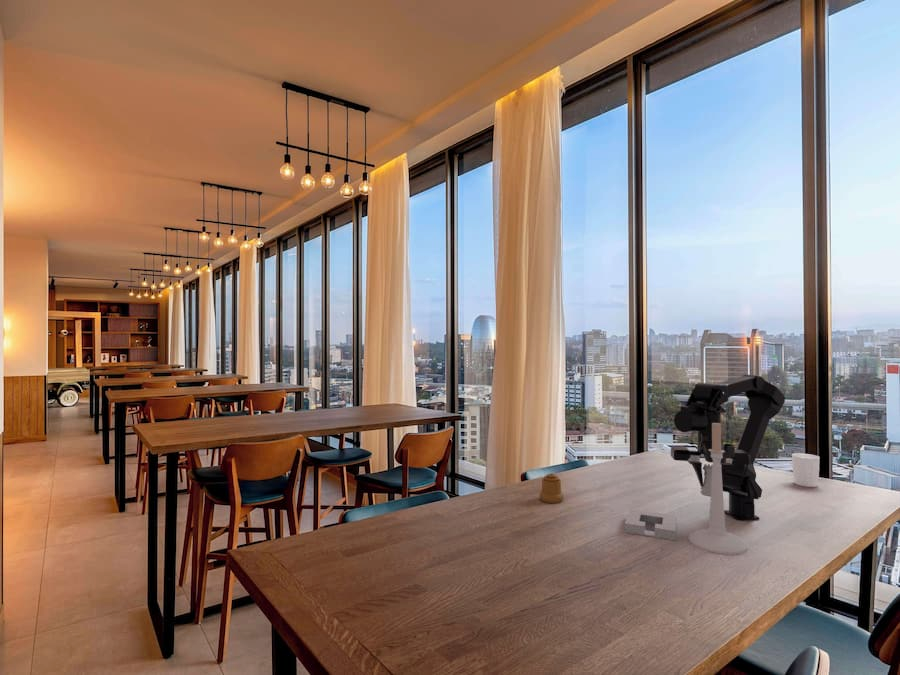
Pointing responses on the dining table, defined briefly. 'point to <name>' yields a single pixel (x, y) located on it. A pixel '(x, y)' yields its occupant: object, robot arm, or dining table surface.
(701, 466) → the robot arm
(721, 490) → the candlestick
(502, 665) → the dining table surface
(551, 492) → the ornamental finial
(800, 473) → the white cup
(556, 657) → the dining table surface
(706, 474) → the rook chess piece
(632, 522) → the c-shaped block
